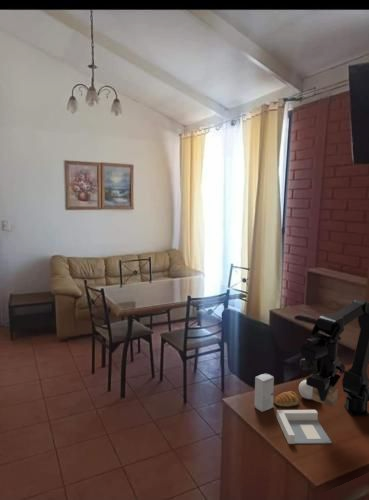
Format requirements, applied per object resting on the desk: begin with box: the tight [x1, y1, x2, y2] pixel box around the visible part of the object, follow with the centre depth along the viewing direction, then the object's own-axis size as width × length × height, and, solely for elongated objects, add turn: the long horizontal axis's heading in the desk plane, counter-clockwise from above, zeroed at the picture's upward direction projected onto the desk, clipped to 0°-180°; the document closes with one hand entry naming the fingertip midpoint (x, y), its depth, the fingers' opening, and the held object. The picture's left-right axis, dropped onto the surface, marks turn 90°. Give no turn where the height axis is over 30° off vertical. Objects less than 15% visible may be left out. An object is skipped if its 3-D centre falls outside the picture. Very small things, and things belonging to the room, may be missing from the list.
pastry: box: [273, 390, 300, 408], centre depth 138 cm, size 9×7×4 cm
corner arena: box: [276, 409, 333, 445], centre depth 121 cm, size 14×14×3 cm
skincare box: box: [254, 373, 275, 413], centre depth 134 cm, size 6×4×12 cm
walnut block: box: [311, 386, 339, 408], centre depth 120 cm, size 7×4×5 cm, turn 48°
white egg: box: [298, 379, 313, 400], centre depth 141 cm, size 10×7×7 cm
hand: (324, 398), depth 120 cm, fingers closed on walnut block, 4 cm apart
